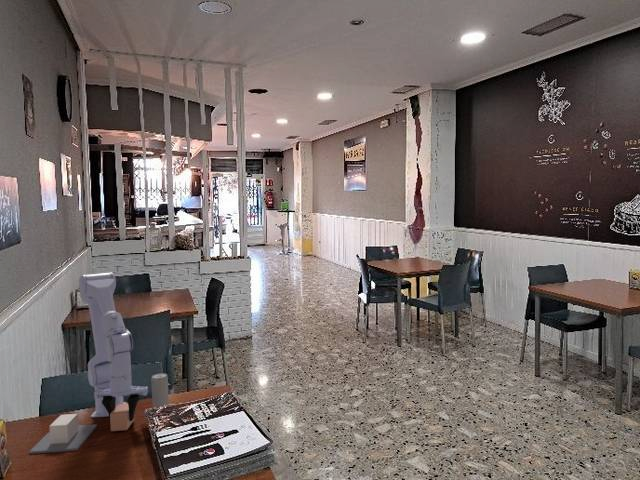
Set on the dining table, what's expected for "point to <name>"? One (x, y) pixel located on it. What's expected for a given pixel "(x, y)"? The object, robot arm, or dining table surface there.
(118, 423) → the terracotta brick
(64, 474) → the dining table surface
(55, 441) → the white brick
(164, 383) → the beverage can
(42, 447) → the base mat
